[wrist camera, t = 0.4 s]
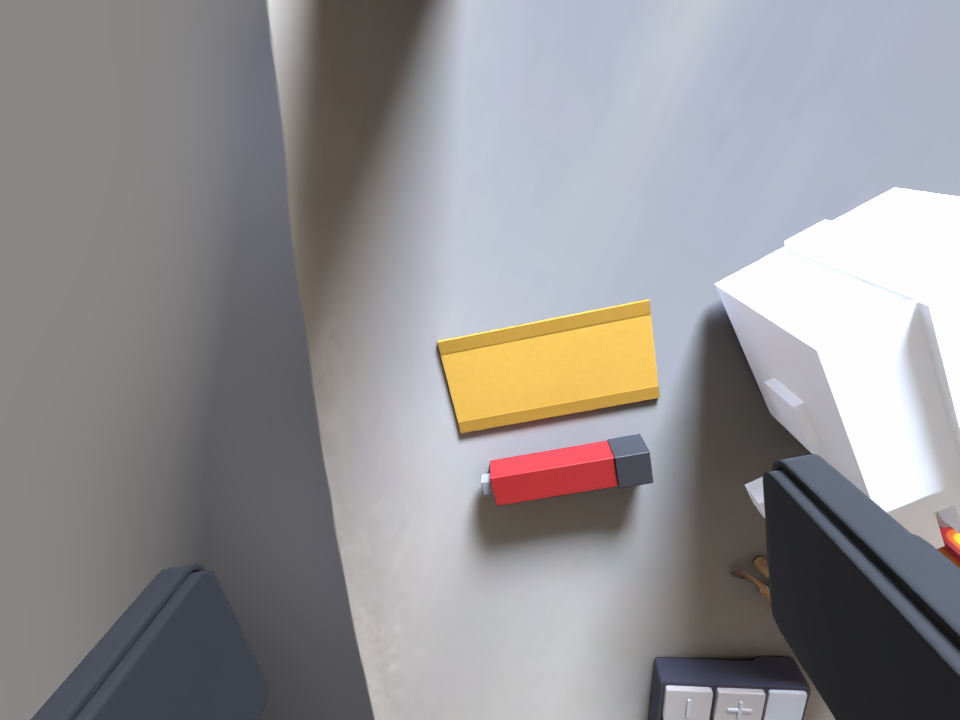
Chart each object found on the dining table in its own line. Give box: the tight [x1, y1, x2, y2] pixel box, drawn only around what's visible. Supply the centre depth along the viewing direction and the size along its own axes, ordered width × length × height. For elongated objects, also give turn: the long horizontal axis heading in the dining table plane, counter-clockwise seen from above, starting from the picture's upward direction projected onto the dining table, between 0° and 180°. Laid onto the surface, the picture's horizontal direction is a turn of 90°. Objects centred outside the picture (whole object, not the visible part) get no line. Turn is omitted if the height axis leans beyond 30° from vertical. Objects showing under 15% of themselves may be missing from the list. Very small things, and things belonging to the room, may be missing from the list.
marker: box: [481, 434, 653, 506], centre depth 46 cm, size 3×15×3 cm, turn 102°
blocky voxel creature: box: [715, 188, 960, 549], centre depth 38 cm, size 15×25×28 cm
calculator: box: [648, 656, 810, 720], centre depth 56 cm, size 11×4×15 cm
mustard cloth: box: [437, 300, 660, 433], centre depth 45 cm, size 9×18×1 cm, turn 102°
